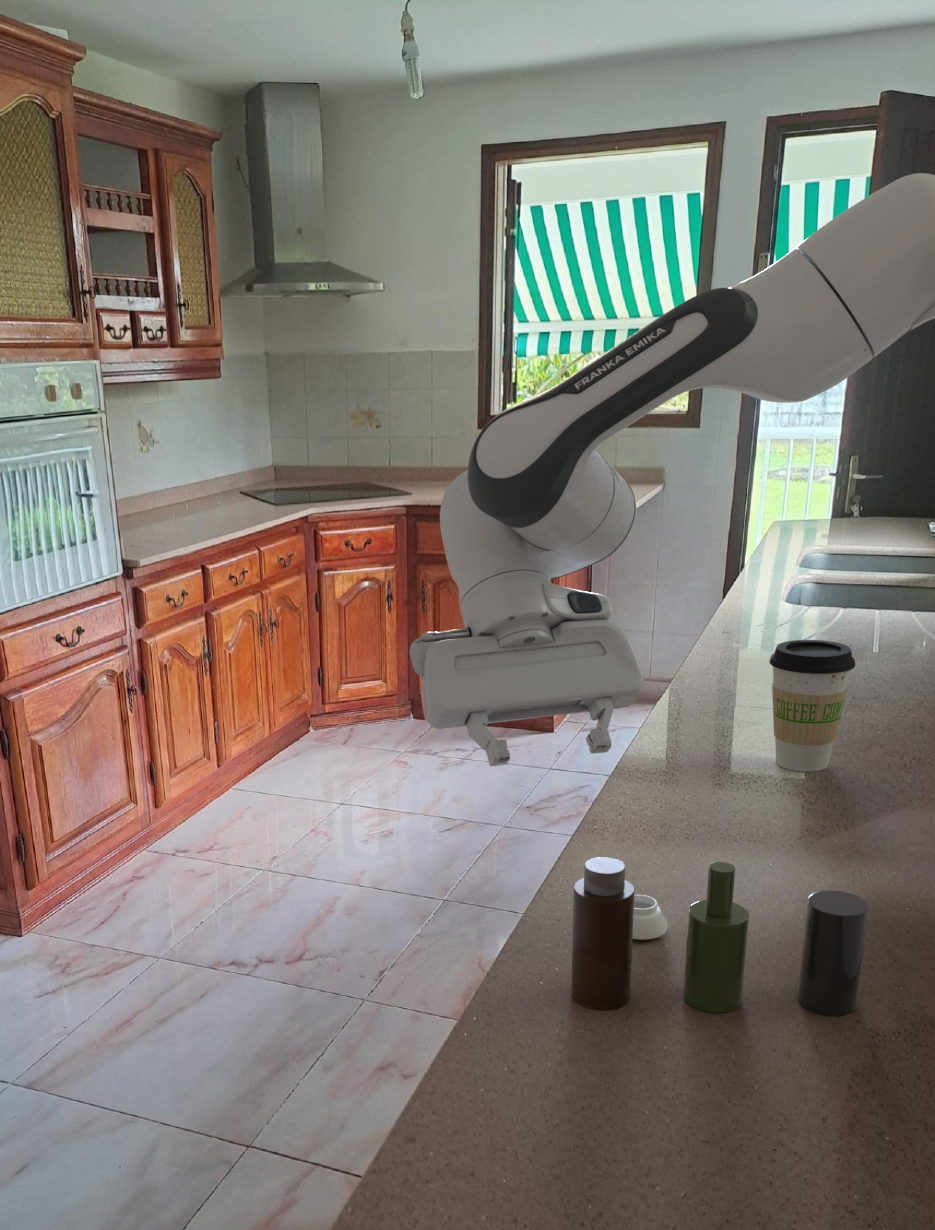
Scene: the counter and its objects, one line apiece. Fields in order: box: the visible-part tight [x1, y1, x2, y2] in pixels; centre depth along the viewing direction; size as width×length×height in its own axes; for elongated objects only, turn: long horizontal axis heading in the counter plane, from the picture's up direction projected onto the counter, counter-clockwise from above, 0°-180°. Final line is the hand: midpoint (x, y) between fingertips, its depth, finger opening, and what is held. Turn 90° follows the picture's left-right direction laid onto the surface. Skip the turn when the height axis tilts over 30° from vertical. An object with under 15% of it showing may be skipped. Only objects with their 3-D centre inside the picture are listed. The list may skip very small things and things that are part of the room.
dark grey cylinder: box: [797, 890, 870, 1017], centre depth 90 cm, size 4×4×9 cm
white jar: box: [632, 894, 669, 941], centre depth 104 cm, size 5×3×5 cm
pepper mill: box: [570, 856, 636, 1011], centre depth 92 cm, size 5×5×12 cm
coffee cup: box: [768, 639, 856, 773], centre depth 140 cm, size 10×10×15 cm
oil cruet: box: [682, 861, 750, 1014], centre depth 91 cm, size 5×5×12 cm
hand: (551, 756), depth 98 cm, fingers open, 8 cm apart
